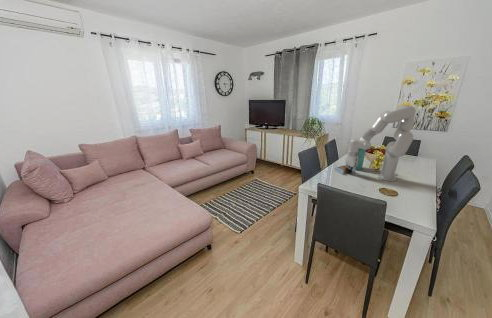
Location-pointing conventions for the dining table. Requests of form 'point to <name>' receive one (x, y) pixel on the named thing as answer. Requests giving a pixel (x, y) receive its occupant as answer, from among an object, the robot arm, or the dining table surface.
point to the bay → (342, 170)
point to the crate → (344, 168)
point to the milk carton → (360, 158)
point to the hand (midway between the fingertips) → (349, 173)
